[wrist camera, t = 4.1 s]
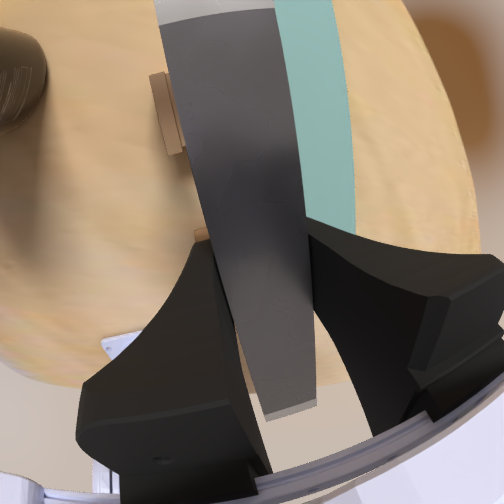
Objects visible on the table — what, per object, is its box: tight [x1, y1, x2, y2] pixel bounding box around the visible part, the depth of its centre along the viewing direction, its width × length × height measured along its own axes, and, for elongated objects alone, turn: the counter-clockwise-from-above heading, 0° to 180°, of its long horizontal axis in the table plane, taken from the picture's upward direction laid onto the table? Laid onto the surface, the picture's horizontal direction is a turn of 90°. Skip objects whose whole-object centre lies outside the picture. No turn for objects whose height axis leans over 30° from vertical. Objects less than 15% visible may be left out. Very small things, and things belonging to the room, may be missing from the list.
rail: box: [154, 0, 317, 422], centre depth 10 cm, size 16×2×2 cm, turn 10°
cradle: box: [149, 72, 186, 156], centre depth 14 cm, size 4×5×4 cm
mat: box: [274, 0, 355, 235], centre depth 19 cm, size 22×6×1 cm, turn 10°
